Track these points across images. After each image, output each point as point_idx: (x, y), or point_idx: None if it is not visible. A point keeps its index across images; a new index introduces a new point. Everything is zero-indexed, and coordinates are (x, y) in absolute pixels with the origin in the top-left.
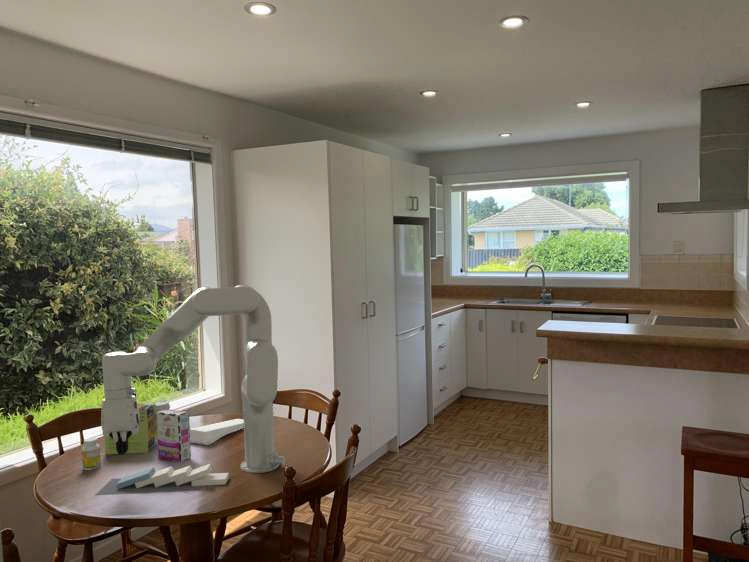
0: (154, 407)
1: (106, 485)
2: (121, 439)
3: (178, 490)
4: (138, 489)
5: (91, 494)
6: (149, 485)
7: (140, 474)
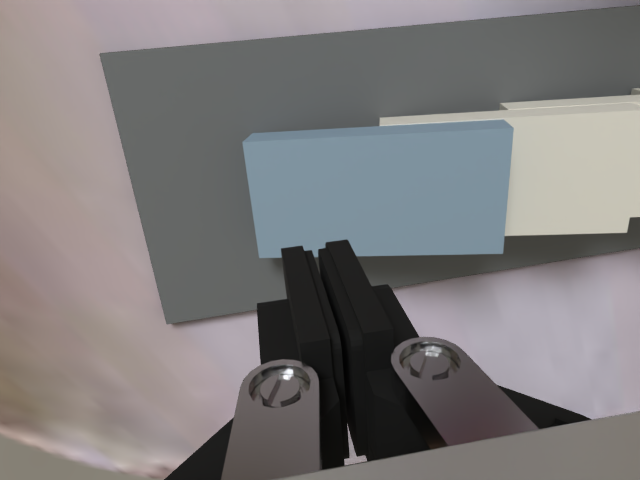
0: None
1: (144, 184)
2: (335, 395)
3: (623, 242)
4: None
5: (119, 290)
6: None
7: (425, 216)
